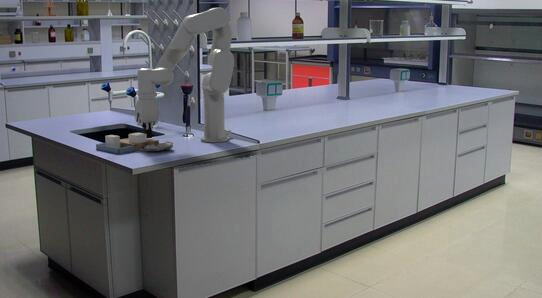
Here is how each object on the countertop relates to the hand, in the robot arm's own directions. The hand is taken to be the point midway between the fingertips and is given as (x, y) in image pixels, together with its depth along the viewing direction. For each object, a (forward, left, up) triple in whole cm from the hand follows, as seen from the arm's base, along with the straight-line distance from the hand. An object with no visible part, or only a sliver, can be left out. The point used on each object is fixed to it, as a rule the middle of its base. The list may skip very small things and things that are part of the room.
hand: (148, 137), depth 263 cm
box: (+15, -3, -4) cm, 16 cm away
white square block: (+6, 0, -1) cm, 6 cm away
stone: (+2, +16, -5) cm, 16 cm away
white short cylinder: (+12, -7, -1) cm, 14 cm away
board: (+4, -3, -4) cm, 7 cm away
